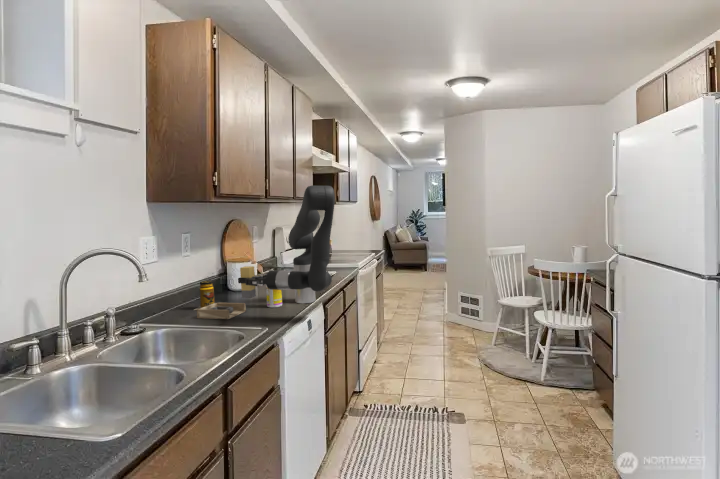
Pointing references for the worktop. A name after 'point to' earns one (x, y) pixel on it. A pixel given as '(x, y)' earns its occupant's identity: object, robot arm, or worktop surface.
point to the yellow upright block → (246, 289)
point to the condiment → (206, 294)
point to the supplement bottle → (273, 297)
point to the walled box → (221, 310)
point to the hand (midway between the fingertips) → (241, 279)
